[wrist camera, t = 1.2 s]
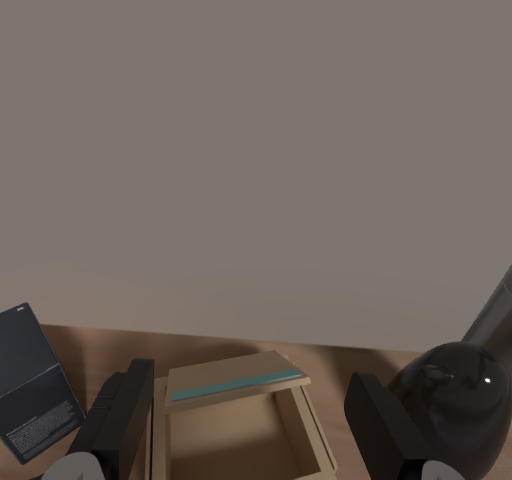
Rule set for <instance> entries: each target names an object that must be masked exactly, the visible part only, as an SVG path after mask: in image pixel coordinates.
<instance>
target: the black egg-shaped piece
mask: <svg viewBox="0 0 512 480" xmlns="http://www.w3.org/2000/svg"><path fill="white" fill-rule="evenodd" d="M386 388H388V389H389V390H390V391H391V392H392V393H393V394H394V395H395V396H396V397H397V398H398V399H399V400H400V402H401V404H402V405H403V407H404V408H405V410H406V412H407V413H408V414H409V416H410V417H411V419H412V422H413V423H414V424H415V425H416V427H417V428H418V430H419V431H420V433H421V434H422V436H423V438H424V439H425V441H426V442H427V444H428V445H429V447H430V448H431V450H432V451H433V453H434V455H435V456H436V458H437V459H438V461H439V462H442V463H444V464H446V465H448V466H450V467H452V468H453V469H454V470H456V471H457V472H458V473H459V474H460V475H461V476H462V477H463V478H464V479H465V480H481V479H483V478H484V477H485V476H486V475H487V473H488V472H489V471H490V470H491V468H492V467H493V465H494V463H495V462H496V460H497V458H498V456H499V454H500V452H501V450H502V448H503V446H504V443H505V441H506V438H507V435H508V431H509V428H510V423H511V419H512V382H511V378H510V375H509V372H508V370H507V368H506V367H505V365H504V364H503V362H502V361H501V360H500V359H499V358H498V357H497V356H496V355H495V354H494V353H492V352H491V351H490V350H488V349H486V348H484V347H482V346H480V345H478V344H475V343H471V342H452V343H447V344H443V345H440V346H437V347H435V348H433V349H431V350H429V351H427V352H425V353H424V354H422V355H421V356H419V357H418V358H416V359H415V360H413V361H412V362H411V363H409V364H408V365H407V366H406V367H404V368H403V369H402V370H401V371H400V372H399V373H398V374H397V375H396V376H395V377H394V378H393V379H392V381H391V382H390V383H389V384H388V386H387V387H386Z"/></svg>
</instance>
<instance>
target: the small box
mask: <svg viewBox="0 0 512 480" xmlns="http://www.w3.org/2000/svg"><path fill="white" fill-rule="evenodd" d="M85 418H86V415H85V413H84V411H83V409H82V407H81V405H80V403H79V401H78V399H77V397H76V395H75V393H74V391H73V389H72V387H71V385H70V383H69V381H68V379H67V377H66V375H65V373H64V371H63V368H62V365H61V363H60V361H59V359H58V357H57V355H56V353H55V352H54V350H53V348H52V346H51V344H50V342H49V340H48V339H47V337H46V335H45V333H44V331H43V329H42V327H41V326H40V324H39V322H38V320H37V318H36V317H35V315H34V313H33V311H32V309H31V308H30V306H29V304H28V303H23V304H21V305H18V306H16V307H14V308H11V309H9V310H6V311H4V312H1V313H0V439H1V440H2V442H3V443H4V444H5V445H6V446H7V448H8V449H9V450H10V451H11V453H12V454H13V455H14V456H15V458H16V459H17V460H18V461H19V462H20V463H21V464H22V465H24V464H25V463H27V462H29V461H30V460H32V459H33V458H34V457H36V456H37V455H39V454H40V453H42V452H43V451H45V450H46V449H48V448H49V447H50V446H52V445H53V444H55V443H56V442H58V441H59V440H61V439H62V438H63V437H65V436H66V435H68V434H69V433H71V432H72V431H74V430H75V429H76V428H78V427H79V426H81V425H82V424H83V422H84V420H85Z"/></svg>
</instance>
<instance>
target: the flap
mask: <svg viewBox="0 0 512 480" xmlns="http://www.w3.org/2000/svg"><path fill="white" fill-rule="evenodd" d="M306 384H311V382H310V377H309V376H308V375H307V374H305V373H304V372H303V371H301V370H300V369H299V368H297V367H296V366H295V365H293V364H292V363H291V362H289V361H288V360H287V359H285V358H284V357H282V356H281V355H280V354H278V353H277V352H276V351H268V352H263V353H257V354H252V355H246V356H240V357H235V358H229V359H224V360H218V361H212V362H207V363H201V364H196V365H190V366H184V367H179V368H173V369H169V376H168V383H167V390H166V397H165V404H164V415H166V414H171V413H176V412H180V411H185V410H190V409H194V408H199V407H204V406H208V405H213V404H218V403H222V402H227V401H231V400H236V399H241V398H245V397H250V396H255V395H259V394H264V393H269V392H273V391H278V390H283V389H287V388H292V387H297V386H301V385H306Z"/></svg>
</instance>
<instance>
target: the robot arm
mask: <svg viewBox="0 0 512 480" xmlns="http://www.w3.org/2000/svg"><path fill="white" fill-rule="evenodd" d="M461 342H471V343H475V344H478V345H480V346H482V347H484V348H486V349H488V350H490V351H491V352H492V353H494V354H495V355H496V356H497V357H498V358H499V359H500V360H501V361H502V362H503V364H504V365H505V367H506V368H507V370H508V372H509V375H510V378H511V382H512V264H511V266H510V268H509V269H508V271H507V272H506V274H505V275H504V277H503V278H502V280H501V282H500V283H499V285H498V286H497V287H496V289H495V291H494V292H493V294H492V295H491V297H490V298H489V300H488V301H487V303H486V304H485V306H484V307H483V309H482V310H481V312H480V313H479V315H478V317H477V318H476V320H475V321H474V322H473V324H472V326H471V327H470V329H469V330H468V332H467V333H466V335H465V336H464V338H463V339H462V341H461ZM153 380H154V360H153V359H136V358H134V359H133V360H132V362H131V364H130V366H129V369H128V371H127V373H120V372H116V373H115V374H113V375H112V376H111V377H110V378H109V379H108V380H107V381H106V382H105V383H104V384H103V386H102V388H101V390H100V392H99V394H98V396H97V398H96V399H95V401H94V403H93V405H92V408H91V409H90V411H89V412H88V414H87V416H86V418H85V420H84V422H83V424H82V426H81V428H80V429H79V431H78V433H77V435H76V437H75V439H74V441H73V443H72V444H71V446H70V448H69V450H68V452H67V453H66V455H65V456H64V457H63V458H61V459H59V460H58V461H56V462H55V463H54V464H53V465H52V466H50V468H49V469H48V470H47V471H46V472H45V473H44V474H42V475H40V476H38V477H36V478H33V479H30V480H128V478H129V475H130V472H131V469H132V465H133V462H134V459H135V456H136V452H137V449H138V446H139V443H140V439H141V436H142V433H143V430H144V426H145V423H146V420H147V417H148V413H149V410H150V406H151V402H152V396H153ZM344 411H345V416H346V419H347V422H348V424H349V427H350V429H351V431H352V434H353V436H354V439H355V441H356V443H357V446H358V448H359V451H360V453H361V456H362V458H363V460H364V463H365V465H366V468H367V470H368V473H369V475H370V477H371V480H465V479H464V478H463V477H462V476H461V475H460V474H459V473H458V472H457V471H456V470H454V469H453V468H452V467H450V466H448V465H446V464H444V463H442V462H439V461H438V459H437V458H436V456H435V455H434V453H433V451H432V450H431V448H430V447H429V445H428V444H427V442H426V441H425V439H424V438H423V436H422V434H421V433H420V431H419V430H418V428H417V427H416V425H415V424H414V423H413V422H412V419H411V417H410V416H409V414H408V413H407V412H406V410H405V408H404V407H403V405H402V404H401V402H400V400H399V399H398V398H397V397H396V396H395V395H394V394H393V393H392V392H391V391H390V390H389V389H388V388H385V387H382V386H381V384H380V383H379V381H378V379H377V378H376V376H375V375H374V374H373V373H361V372H354V373H353V374H352V377H351V380H350V384H349V387H348V391H347V394H346V398H345V401H344Z"/></svg>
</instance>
